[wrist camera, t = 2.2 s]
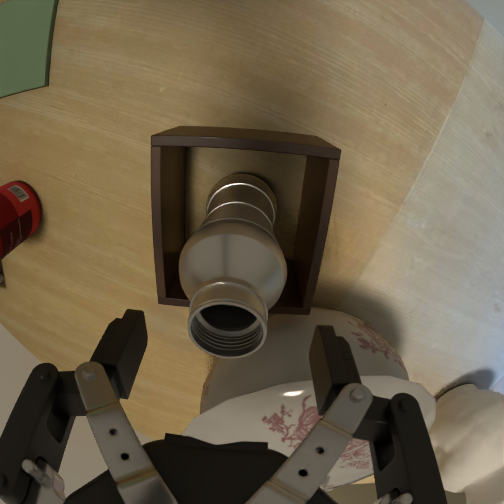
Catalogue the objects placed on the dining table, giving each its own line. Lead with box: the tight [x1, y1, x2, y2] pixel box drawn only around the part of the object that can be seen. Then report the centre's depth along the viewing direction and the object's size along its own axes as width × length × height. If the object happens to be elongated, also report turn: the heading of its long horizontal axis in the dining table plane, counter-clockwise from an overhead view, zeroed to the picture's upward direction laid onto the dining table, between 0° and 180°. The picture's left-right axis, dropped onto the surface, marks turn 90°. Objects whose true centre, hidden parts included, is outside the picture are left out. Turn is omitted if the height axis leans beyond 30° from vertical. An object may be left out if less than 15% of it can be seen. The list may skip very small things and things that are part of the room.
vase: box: [428, 384, 504, 504], centre depth 37 cm, size 19×21×30 cm
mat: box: [0, 0, 58, 98], centre depth 21 cm, size 14×14×1 cm
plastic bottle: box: [179, 174, 287, 359], centre depth 23 cm, size 6×7×20 cm
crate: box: [151, 126, 341, 315], centre depth 28 cm, size 15×14×9 cm
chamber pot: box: [181, 306, 436, 491], centre depth 32 cm, size 28×28×21 cm
